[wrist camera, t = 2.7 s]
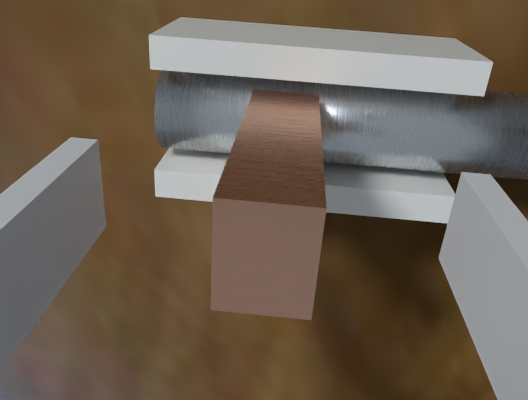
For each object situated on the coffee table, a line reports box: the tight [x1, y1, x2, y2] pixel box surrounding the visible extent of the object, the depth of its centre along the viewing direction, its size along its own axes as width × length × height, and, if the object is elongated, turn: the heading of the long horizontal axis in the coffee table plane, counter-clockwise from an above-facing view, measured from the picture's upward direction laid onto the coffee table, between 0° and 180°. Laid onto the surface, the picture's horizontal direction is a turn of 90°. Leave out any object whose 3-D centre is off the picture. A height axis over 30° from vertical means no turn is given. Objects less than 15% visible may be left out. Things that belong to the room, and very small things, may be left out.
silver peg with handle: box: [154, 70, 528, 320], centre depth 17 cm, size 3×16×12 cm, turn 86°
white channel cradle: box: [149, 17, 493, 223], centre depth 21 cm, size 6×12×5 cm, turn 86°
